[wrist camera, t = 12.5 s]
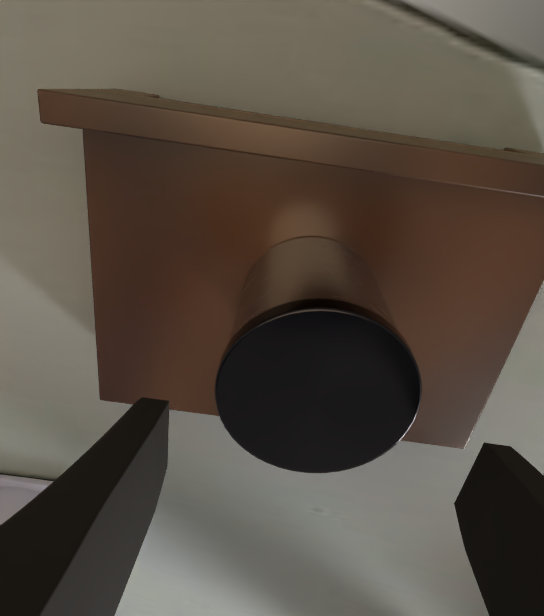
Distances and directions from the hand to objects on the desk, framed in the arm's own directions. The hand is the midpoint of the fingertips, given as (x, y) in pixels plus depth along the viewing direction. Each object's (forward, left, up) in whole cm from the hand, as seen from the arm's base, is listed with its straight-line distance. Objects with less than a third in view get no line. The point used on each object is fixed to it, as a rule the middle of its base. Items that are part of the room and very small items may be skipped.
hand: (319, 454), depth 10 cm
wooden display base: (0, +1, -10) cm, 10 cm away
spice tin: (0, +1, -7) cm, 7 cm away
